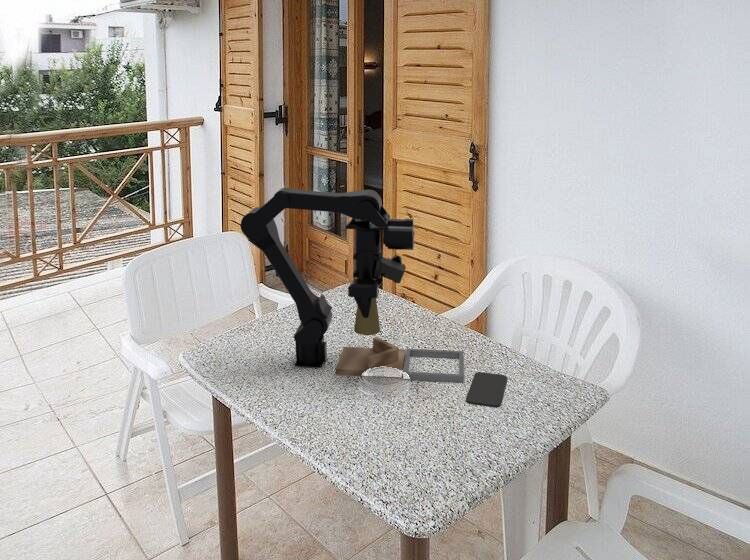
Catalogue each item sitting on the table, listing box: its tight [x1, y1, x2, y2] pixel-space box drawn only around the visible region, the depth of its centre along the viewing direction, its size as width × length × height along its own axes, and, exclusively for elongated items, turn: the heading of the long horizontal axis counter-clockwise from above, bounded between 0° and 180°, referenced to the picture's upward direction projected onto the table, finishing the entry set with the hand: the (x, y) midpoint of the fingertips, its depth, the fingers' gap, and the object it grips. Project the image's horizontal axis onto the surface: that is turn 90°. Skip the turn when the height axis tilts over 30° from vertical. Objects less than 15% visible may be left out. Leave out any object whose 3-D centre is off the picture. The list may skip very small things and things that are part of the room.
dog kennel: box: [335, 336, 407, 377], centre depth 167 cm, size 15×12×4 cm
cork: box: [353, 291, 381, 336], centre depth 164 cm, size 6×6×11 cm
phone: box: [465, 371, 508, 408], centre depth 156 cm, size 7×1×15 cm
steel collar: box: [403, 348, 465, 383], centre depth 166 cm, size 14×14×2 cm
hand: (367, 313), depth 164 cm, fingers closed on cork, 4 cm apart
